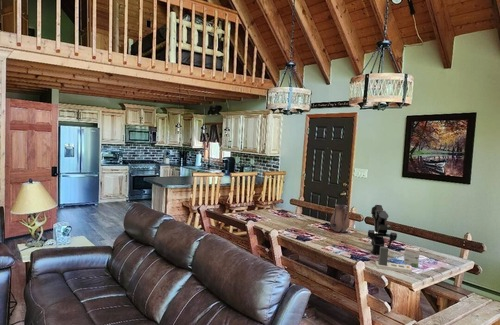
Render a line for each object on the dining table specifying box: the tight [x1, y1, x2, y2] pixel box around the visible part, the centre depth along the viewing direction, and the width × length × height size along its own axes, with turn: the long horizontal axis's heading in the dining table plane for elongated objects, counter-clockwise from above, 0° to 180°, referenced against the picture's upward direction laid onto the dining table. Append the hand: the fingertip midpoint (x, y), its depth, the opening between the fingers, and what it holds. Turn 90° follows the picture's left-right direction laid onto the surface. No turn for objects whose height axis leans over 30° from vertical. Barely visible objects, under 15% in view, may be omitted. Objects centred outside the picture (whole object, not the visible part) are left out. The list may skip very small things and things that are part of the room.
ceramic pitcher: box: [329, 203, 350, 233], centre depth 316 cm, size 18×21×25 cm
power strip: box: [374, 260, 413, 274], centre depth 222 cm, size 21×9×4 cm, turn 76°
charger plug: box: [378, 246, 389, 266], centre depth 224 cm, size 4×4×13 cm
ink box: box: [403, 246, 420, 269], centre depth 233 cm, size 9×5×12 cm, turn 47°
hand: (382, 245), depth 230 cm, fingers open, 9 cm apart
